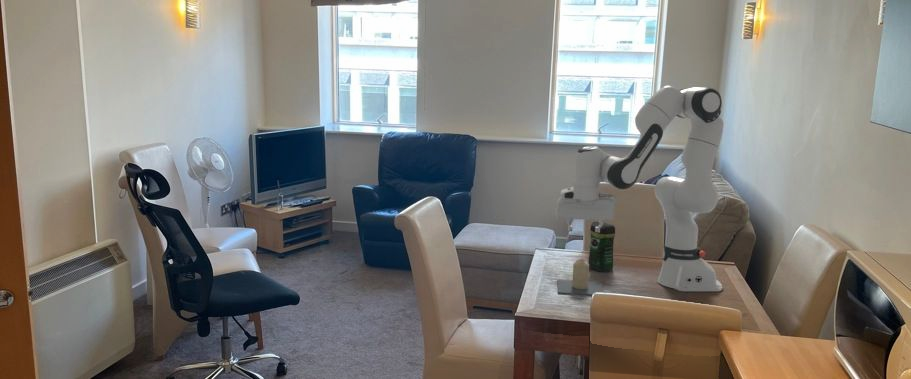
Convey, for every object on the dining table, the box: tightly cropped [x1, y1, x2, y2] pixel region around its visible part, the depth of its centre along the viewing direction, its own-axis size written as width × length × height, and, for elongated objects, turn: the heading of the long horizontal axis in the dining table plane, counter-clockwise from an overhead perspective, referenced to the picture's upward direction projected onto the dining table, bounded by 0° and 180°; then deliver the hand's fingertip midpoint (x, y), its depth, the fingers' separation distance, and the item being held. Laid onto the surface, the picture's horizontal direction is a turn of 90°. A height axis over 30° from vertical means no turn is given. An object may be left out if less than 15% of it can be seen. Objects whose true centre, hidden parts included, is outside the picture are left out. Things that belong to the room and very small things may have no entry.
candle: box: [572, 258, 590, 289], centre depth 247 cm, size 6×6×10 cm
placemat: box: [556, 279, 605, 297], centre depth 248 cm, size 16×14×1 cm
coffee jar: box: [587, 221, 616, 273], centre depth 270 cm, size 10×8×19 cm
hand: (583, 231), depth 244 cm, fingers open, 8 cm apart
